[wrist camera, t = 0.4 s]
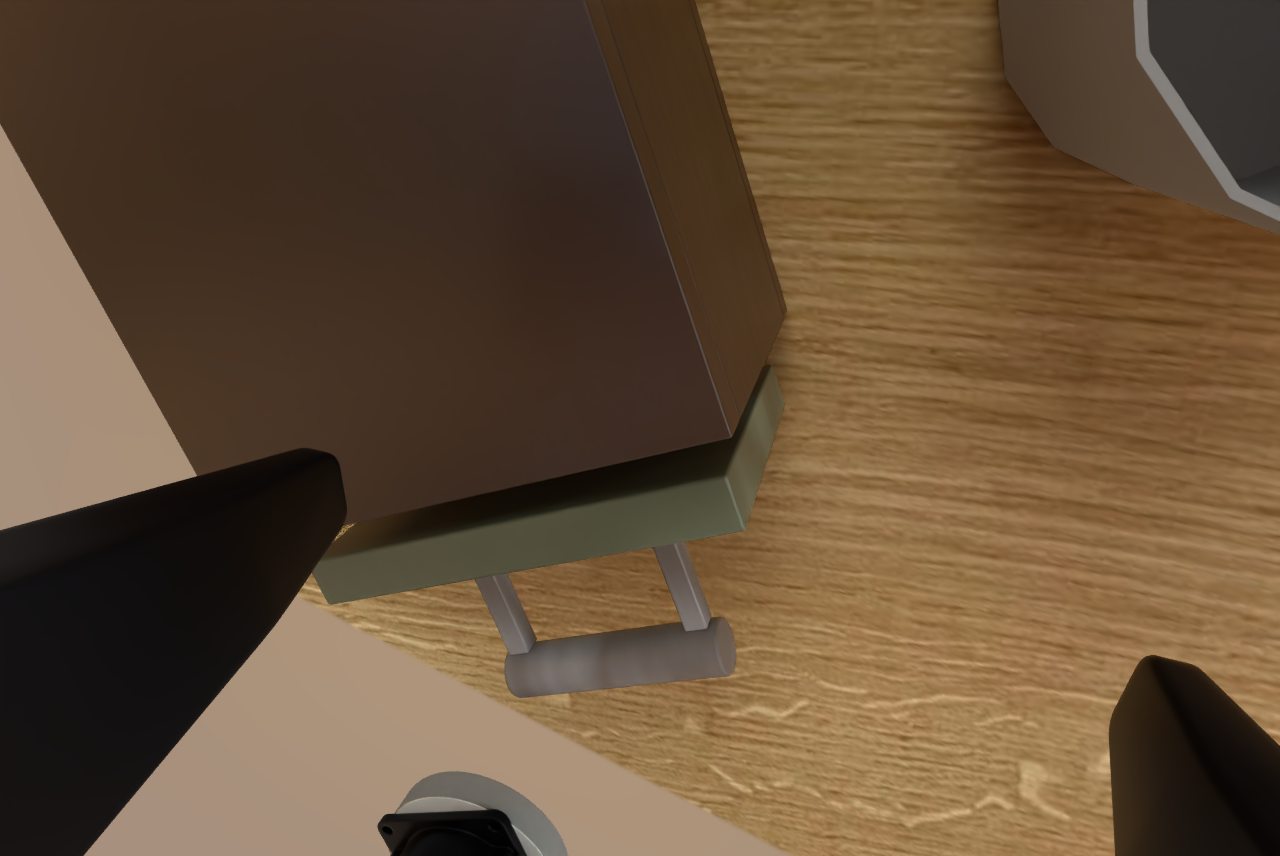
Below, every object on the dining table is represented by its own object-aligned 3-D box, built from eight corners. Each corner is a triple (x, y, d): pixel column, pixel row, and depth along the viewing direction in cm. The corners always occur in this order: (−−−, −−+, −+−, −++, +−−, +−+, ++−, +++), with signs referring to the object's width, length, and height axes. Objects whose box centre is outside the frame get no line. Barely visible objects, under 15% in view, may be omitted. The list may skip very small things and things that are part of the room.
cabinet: (788, 312, 20) (732, 438, 13) (435, 411, 25) (237, 550, 17) (625, -232, 17) (417, -502, 9) (247, -5, 21) (-106, -61, 14)
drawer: (835, 562, 22) (817, 739, 16) (523, 610, 26) (414, 767, 20) (640, -65, 17) (511, -151, 11) (297, 109, 21) (65, 115, 15)
